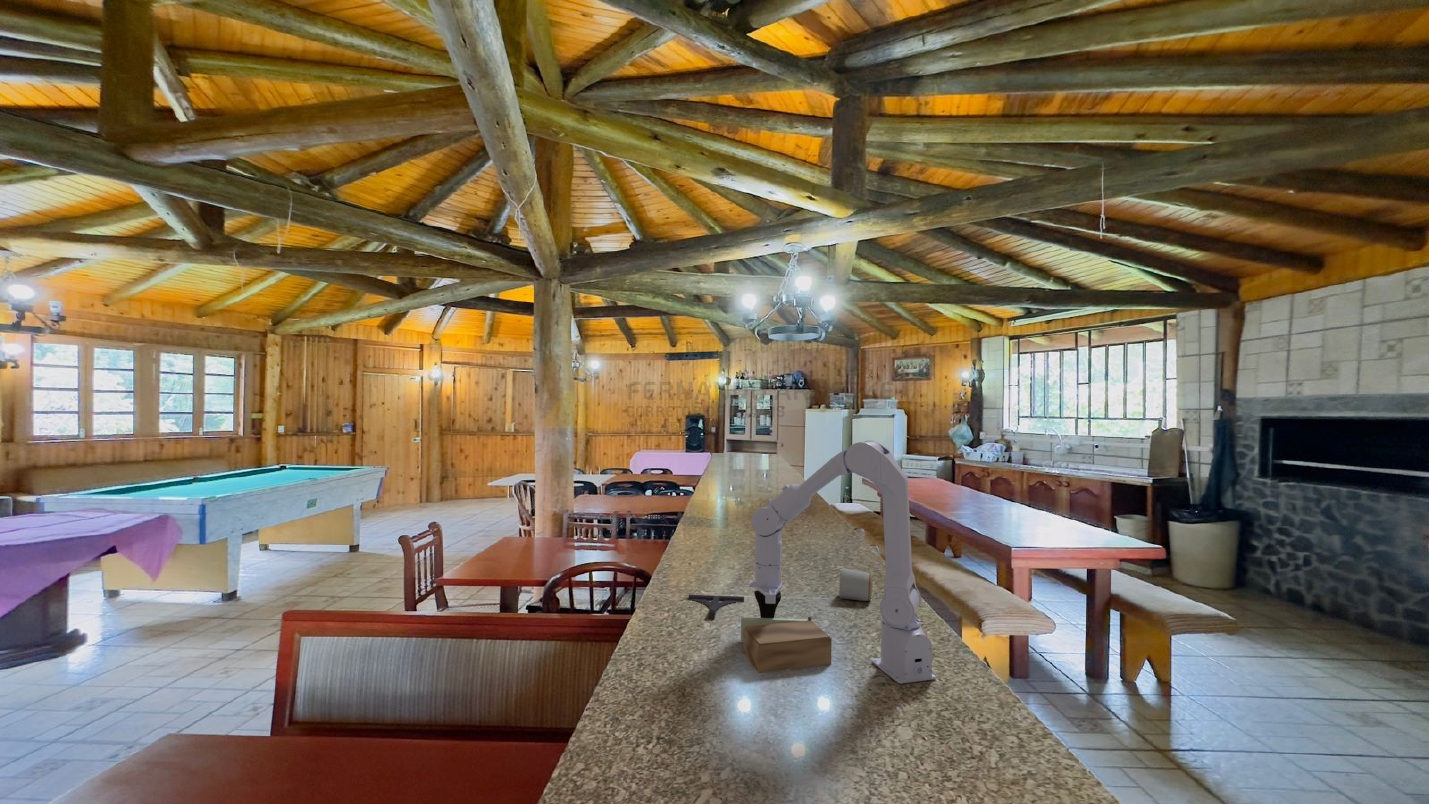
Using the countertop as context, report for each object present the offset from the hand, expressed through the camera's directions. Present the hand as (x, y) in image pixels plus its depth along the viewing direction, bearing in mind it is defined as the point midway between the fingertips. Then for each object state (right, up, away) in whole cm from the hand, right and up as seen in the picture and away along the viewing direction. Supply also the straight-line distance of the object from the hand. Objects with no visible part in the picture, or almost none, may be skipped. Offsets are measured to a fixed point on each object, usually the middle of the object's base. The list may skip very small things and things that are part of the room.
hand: (767, 626), depth 119 cm
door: (+1, -3, -1) cm, 3 cm away
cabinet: (+3, -3, -9) cm, 10 cm away
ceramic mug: (+26, -4, +29) cm, 39 cm away
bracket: (-11, -4, +19) cm, 22 cm away
